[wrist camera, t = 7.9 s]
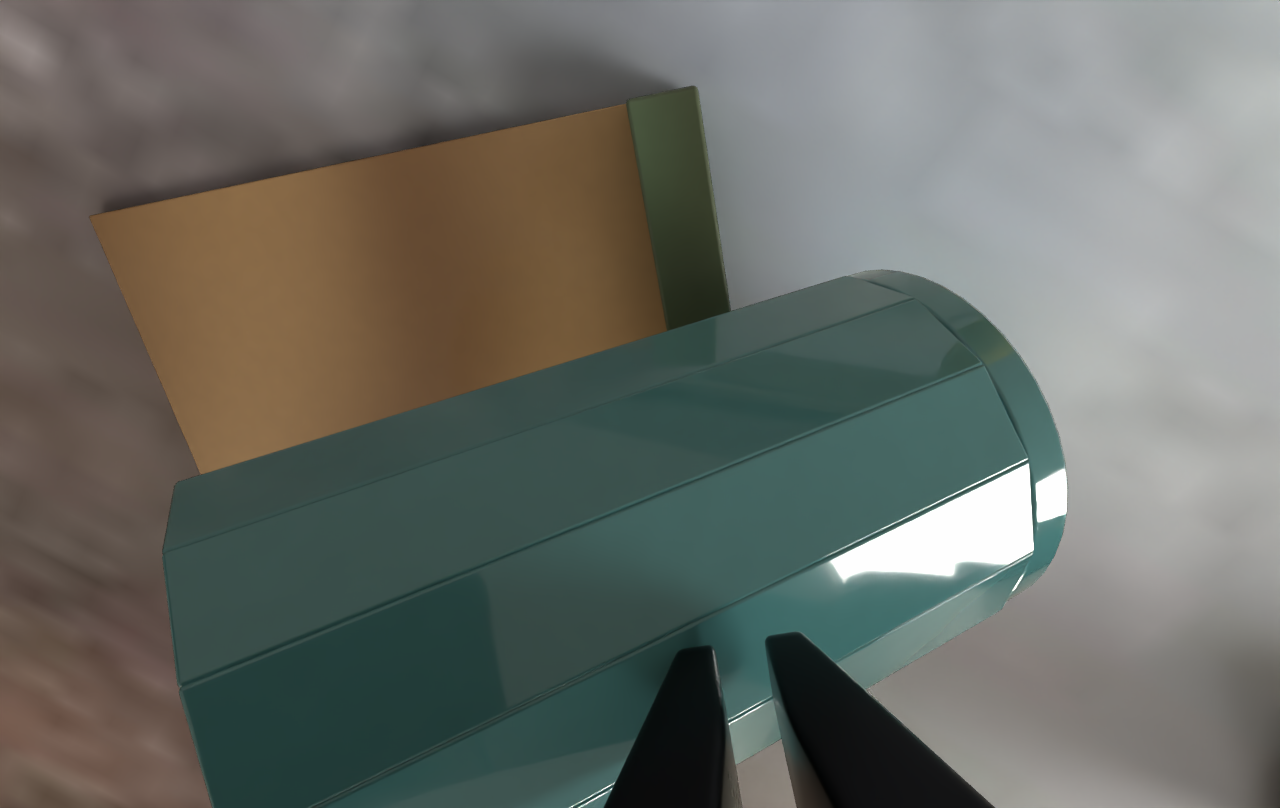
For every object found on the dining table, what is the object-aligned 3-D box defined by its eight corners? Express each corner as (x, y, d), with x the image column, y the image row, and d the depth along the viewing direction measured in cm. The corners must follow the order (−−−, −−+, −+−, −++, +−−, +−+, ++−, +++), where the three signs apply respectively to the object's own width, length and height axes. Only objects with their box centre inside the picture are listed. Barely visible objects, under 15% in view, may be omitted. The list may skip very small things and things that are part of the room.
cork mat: (694, 90, 14) (697, 84, 13) (778, 647, 19) (785, 679, 18) (98, 214, 15) (53, 219, 14) (311, 710, 20) (290, 744, 19)
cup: (1062, 263, 9) (95, 602, 5) (1078, 672, 11) (371, 1144, 7) (776, 264, 15) (209, 427, 11) (817, 533, 17) (346, 753, 13)
